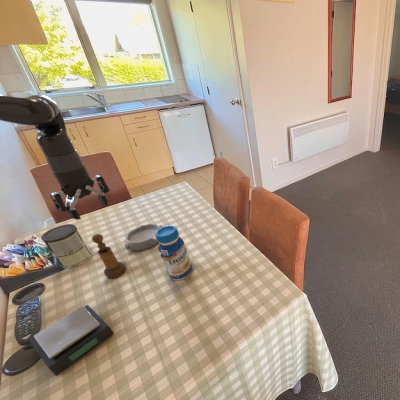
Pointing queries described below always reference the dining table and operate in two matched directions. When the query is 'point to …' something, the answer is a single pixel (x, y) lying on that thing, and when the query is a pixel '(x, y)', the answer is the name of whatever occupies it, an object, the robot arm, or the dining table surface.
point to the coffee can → (67, 245)
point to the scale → (75, 346)
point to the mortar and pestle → (108, 259)
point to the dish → (142, 237)
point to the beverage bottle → (174, 253)
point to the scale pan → (66, 331)
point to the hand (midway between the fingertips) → (91, 212)
